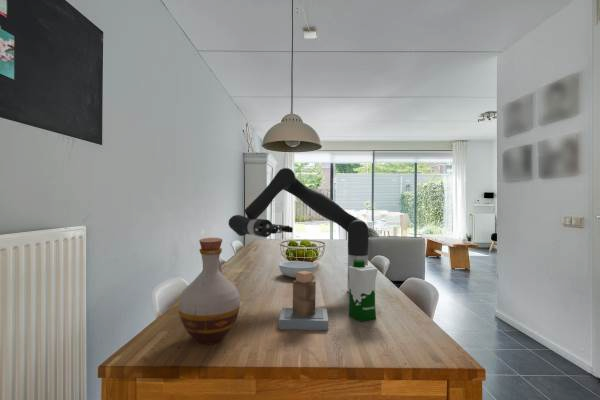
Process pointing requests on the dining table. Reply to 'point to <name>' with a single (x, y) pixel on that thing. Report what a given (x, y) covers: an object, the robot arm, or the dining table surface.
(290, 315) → the dock
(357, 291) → the milk carton
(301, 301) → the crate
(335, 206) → the robot arm
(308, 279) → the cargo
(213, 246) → the jug
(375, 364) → the dining table surface
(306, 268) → the serving bowl
